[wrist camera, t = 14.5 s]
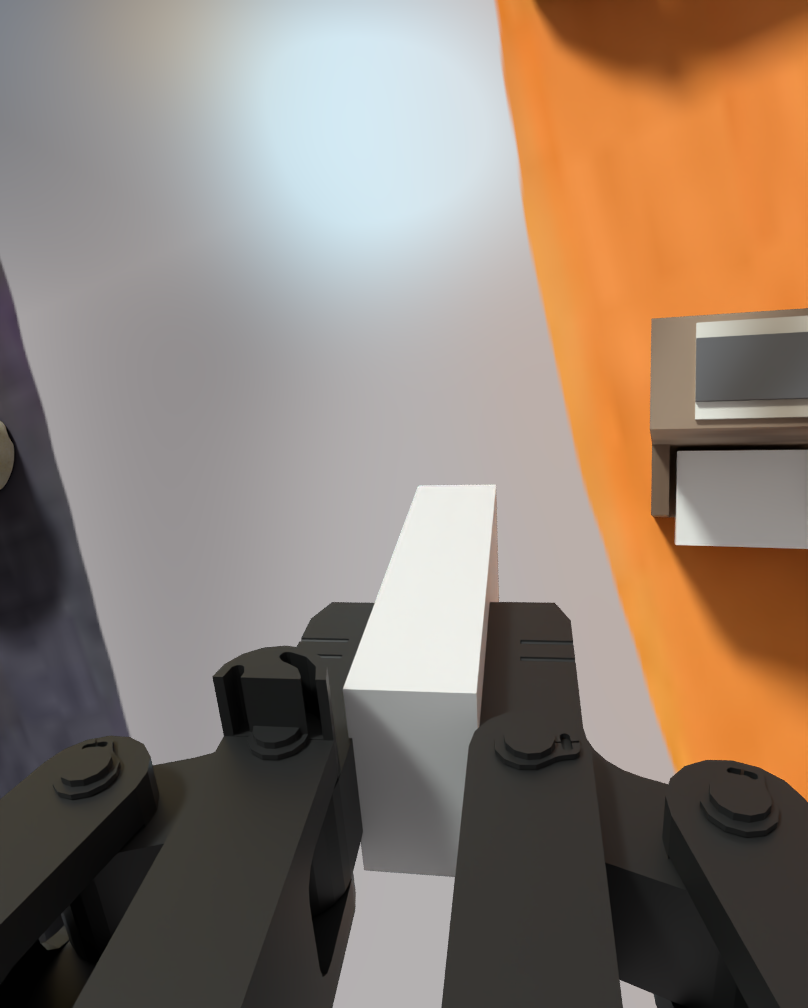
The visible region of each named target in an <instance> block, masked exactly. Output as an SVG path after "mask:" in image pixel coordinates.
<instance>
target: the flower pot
mask: <svg viewBox="0 0 808 1008" xmlns="http://www.w3.org/2000/svg"><path fill="white" fill-rule="evenodd" d="M13 463H14V445H13V443H12V441H11V440H10V438H9V436H8V434H7V431H6V426H5V425H4V424H3V423H2V422H1V421H0V489H2V488H3V487H4V486H5V484H6V483H7V481H8V479H9V477H10V474H11V472H12V468H13Z"/></svg>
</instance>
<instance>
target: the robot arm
mask: <svg viewBox="0 0 808 1008" xmlns="http://www.w3.org/2000/svg"><path fill="white" fill-rule="evenodd" d="M213 682H214V686H215V692H216V697H217V702H218V707H219V713H220V718H221V722H222V728H223V733H224V737H223V739H222V741H221V742H220V744H219V746H218V748H217V750H216V752H214V753H211V754H207V755H203V756H200V757H196V758H191V759H186V760H181V761H175V762H169V763H165V764H159V765H152V761H151V757H150V755H149V753H148V751H147V749H146V747H145V746H144V744H142V743H140V742H138V741H136V740H134V739H132V738H130V737H120V736H106V737H100V738H95V739H89V740H86V741H83V742H81V743H78V744H76V745H73V746H71V747H68V748H66V749H64V750H62V751H61V752H59V753H58V754H56V755H55V756H53V757H52V758H50V759H49V760H47V761H46V762H44V763H43V764H42V765H41V766H40V767H38V768H37V769H36V770H35V771H34V772H32V773H31V774H30V775H29V776H28V777H26V778H25V779H24V780H23V781H22V782H20V783H19V784H18V785H17V786H16V787H14V788H13V789H12V790H11V791H10V792H8V793H7V794H6V795H5V796H4V797H2V798H1V799H0V1008H332V1007H333V1002H334V998H335V994H336V990H337V985H338V981H339V977H340V973H341V968H342V964H343V960H344V955H345V951H346V947H347V943H348V938H349V934H350V930H351V925H352V921H353V917H354V913H355V885H354V876H353V869H354V866H355V861H356V858H357V853H358V850H359V846H360V842H361V847H362V856H363V864H364V870H368V871H381V872H394V873H408V874H422V875H436V876H449V877H455V883H454V893H453V903H452V912H451V921H450V932H449V941H448V951H447V960H446V970H445V980H444V989H443V999H442V1008H623V1005H622V998H621V989H620V981H619V980H622V981H624V982H627V983H629V984H631V985H634V986H636V987H639V988H641V989H644V990H646V991H648V992H651V993H653V994H654V997H655V1003H656V1006H657V1008H808V802H807V801H806V800H805V799H804V798H803V797H802V796H801V795H800V794H799V793H798V792H797V791H795V790H794V789H793V788H792V787H791V786H790V785H789V784H788V783H787V782H785V781H784V780H782V779H780V778H778V777H776V776H774V775H772V774H771V773H769V772H767V771H765V770H763V769H761V768H759V767H755V766H751V765H747V764H743V763H739V762H736V761H727V760H705V761H701V762H698V763H694V764H691V765H687V766H684V767H683V768H682V769H681V770H680V771H679V772H677V773H676V774H675V775H674V776H673V777H672V778H670V781H669V785H668V784H665V783H661V782H658V781H654V780H651V779H647V778H643V777H640V776H637V775H635V774H632V773H630V772H627V771H624V770H622V769H620V768H618V767H617V766H615V765H613V764H611V763H610V762H608V761H606V760H605V759H604V758H603V757H602V756H601V755H599V754H598V753H597V752H596V751H595V750H594V749H593V747H592V746H591V744H590V743H589V741H588V740H587V739H586V736H585V732H584V729H583V724H582V715H581V706H580V698H579V689H578V680H577V672H576V663H575V655H574V646H573V638H572V629H571V621H570V619H569V618H568V617H567V616H566V615H565V614H564V613H563V612H562V611H561V609H560V608H559V607H558V606H557V605H556V604H555V603H526V602H522V603H521V602H499V586H498V545H497V502H496V485H429V486H418V488H417V491H416V493H415V496H414V499H413V502H412V504H411V507H410V510H409V513H408V515H407V518H406V521H405V523H404V526H403V528H402V531H401V534H400V537H399V539H398V542H397V545H396V547H395V550H394V553H393V555H392V558H391V561H390V563H389V566H388V569H387V571H386V574H385V577H384V580H383V582H382V585H381V588H380V591H379V593H378V596H377V598H376V601H375V603H344V602H343V603H342V602H340V603H339V602H332V603H331V604H329V605H328V606H327V607H326V608H324V609H323V610H322V611H320V612H319V613H318V614H317V615H315V616H314V617H313V618H312V619H311V620H310V622H309V624H308V626H307V628H306V630H305V632H304V634H303V636H302V640H301V642H299V644H298V646H297V647H291V646H277V647H265V648H261V649H258V650H254V651H251V652H248V653H245V654H242V655H240V656H238V657H237V658H235V659H233V660H231V661H229V662H228V663H226V664H224V666H222V667H221V668H220V670H219V671H217V673H216V674H215V675H214V676H213Z"/></svg>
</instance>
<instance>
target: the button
mask: <svg viewBox="0 0 808 1008" xmlns="http://www.w3.org/2000/svg"><path fill="white" fill-rule="evenodd" d="M675 544H676V545H696V546H729V547H762V548H795V549H808V450H734V451H677V455H676V479H675Z"/></svg>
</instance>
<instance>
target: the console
mask: <svg viewBox="0 0 808 1008" xmlns="http://www.w3.org/2000/svg"><path fill="white" fill-rule="evenodd" d="M650 432H651V439H652V497H651V515H652V516H653V517H675V479H676V455H677V451H734V450H808V308H806V309H791V310H776V311H761V312H746V313H731V314H716V315H701V316H686V317H671V318H656V319H652V330H651V398H650Z"/></svg>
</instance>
